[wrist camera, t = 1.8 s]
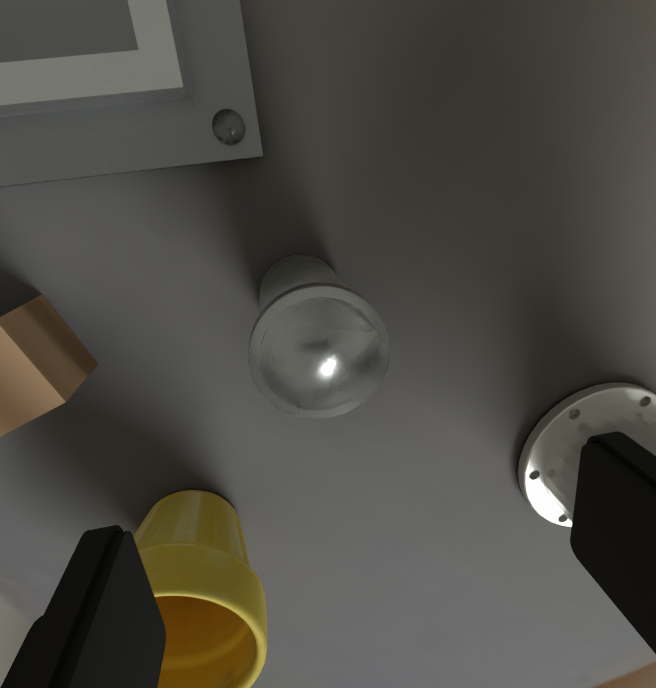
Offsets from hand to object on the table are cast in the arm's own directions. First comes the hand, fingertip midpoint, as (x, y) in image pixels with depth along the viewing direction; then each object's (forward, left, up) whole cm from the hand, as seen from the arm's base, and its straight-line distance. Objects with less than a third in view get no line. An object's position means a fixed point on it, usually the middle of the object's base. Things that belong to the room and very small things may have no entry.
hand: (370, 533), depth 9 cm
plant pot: (+10, +16, -20) cm, 28 cm away
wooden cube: (+16, +1, -20) cm, 25 cm away
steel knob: (0, 0, -20) cm, 20 cm away
